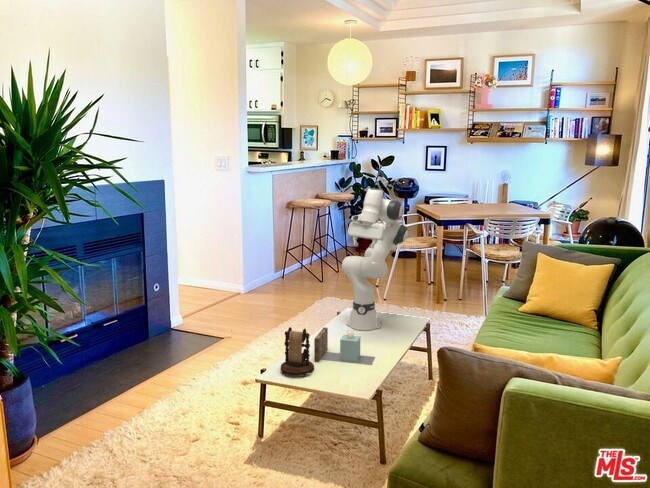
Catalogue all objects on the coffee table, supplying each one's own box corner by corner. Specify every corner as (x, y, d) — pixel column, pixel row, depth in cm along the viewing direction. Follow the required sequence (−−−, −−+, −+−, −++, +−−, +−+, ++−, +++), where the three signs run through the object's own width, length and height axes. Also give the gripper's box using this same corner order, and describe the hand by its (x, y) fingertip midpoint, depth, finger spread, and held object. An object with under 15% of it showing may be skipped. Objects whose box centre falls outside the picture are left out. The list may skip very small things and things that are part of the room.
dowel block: (343, 354, 254) (343, 328, 252) (360, 356, 252) (360, 330, 250) (340, 360, 248) (340, 333, 245) (357, 362, 246) (357, 335, 243)
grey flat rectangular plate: (325, 353, 258) (325, 351, 258) (375, 358, 252) (375, 356, 252) (320, 361, 249) (320, 359, 249) (371, 367, 243) (371, 365, 242)
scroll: (275, 376, 233) (275, 332, 229) (287, 363, 247) (286, 321, 243) (308, 380, 229) (308, 335, 226) (318, 366, 243) (317, 324, 240)
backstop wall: (323, 350, 262) (323, 327, 259) (327, 351, 261) (327, 327, 259) (314, 363, 246) (314, 338, 244) (318, 364, 246) (318, 339, 244)
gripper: (390, 223, 261) (384, 251, 260) (356, 219, 274) (350, 245, 273) (383, 220, 256) (377, 248, 255) (349, 216, 269) (343, 243, 268)
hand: (363, 247), depth 264 cm, fingers open, 8 cm apart
